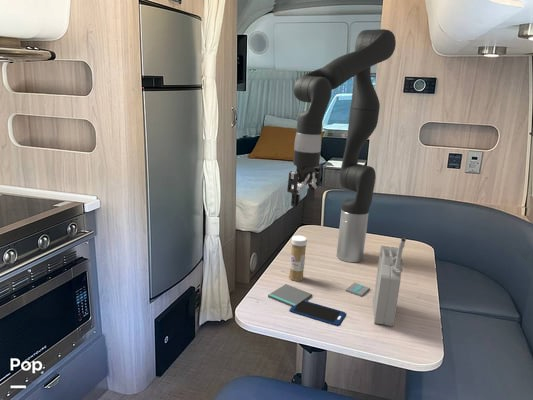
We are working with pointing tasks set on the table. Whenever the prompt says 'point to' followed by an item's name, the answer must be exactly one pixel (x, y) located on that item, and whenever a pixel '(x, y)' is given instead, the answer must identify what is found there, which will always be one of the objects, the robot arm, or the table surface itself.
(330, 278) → the table surface
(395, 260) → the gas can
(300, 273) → the sprinkles bottle
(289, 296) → the mat
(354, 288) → the label tag
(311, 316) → the cell phone
